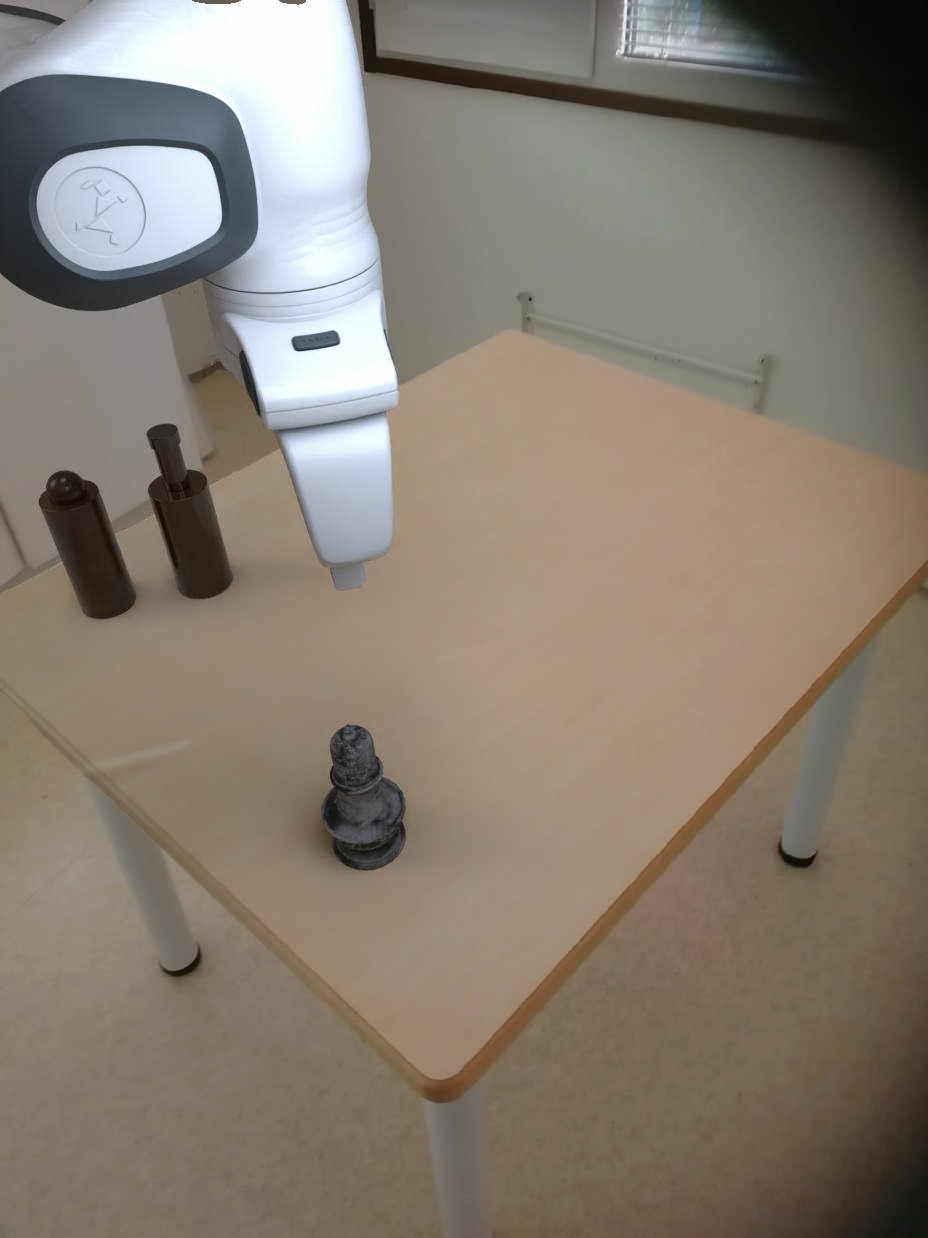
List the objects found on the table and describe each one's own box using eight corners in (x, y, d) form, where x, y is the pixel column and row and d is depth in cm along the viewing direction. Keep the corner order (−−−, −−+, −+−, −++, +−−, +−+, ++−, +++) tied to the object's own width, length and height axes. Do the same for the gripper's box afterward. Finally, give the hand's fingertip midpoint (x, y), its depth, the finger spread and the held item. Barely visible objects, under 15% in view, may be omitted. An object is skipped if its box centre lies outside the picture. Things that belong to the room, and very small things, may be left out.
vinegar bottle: (179, 604, 89) (131, 451, 78) (176, 571, 93) (129, 421, 82) (235, 592, 90) (195, 440, 79) (230, 560, 94) (191, 411, 83)
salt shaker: (426, 826, 69) (412, 712, 61) (377, 887, 65) (356, 774, 57) (361, 793, 71) (339, 679, 63) (311, 850, 68) (281, 737, 60)
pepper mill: (81, 624, 88) (27, 494, 78) (82, 591, 91) (31, 463, 82) (136, 612, 89) (90, 482, 79) (135, 580, 92) (90, 452, 83)
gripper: (216, 254, 56) (258, 459, 65) (263, 418, 41) (309, 655, 50) (323, 239, 57) (350, 442, 66) (407, 393, 42) (426, 628, 51)
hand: (333, 535), depth 58 cm, fingers open, 8 cm apart
